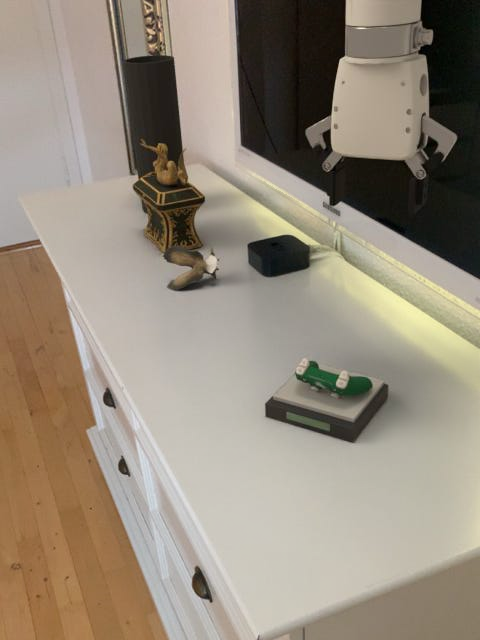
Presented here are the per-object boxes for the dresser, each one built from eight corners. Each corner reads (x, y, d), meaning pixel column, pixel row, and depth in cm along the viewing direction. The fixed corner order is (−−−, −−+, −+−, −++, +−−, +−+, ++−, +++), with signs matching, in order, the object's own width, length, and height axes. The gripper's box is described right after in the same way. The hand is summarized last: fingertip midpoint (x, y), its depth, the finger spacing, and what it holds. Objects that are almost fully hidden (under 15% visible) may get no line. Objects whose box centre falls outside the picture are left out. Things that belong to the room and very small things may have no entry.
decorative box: (136, 232, 146) (122, 132, 134) (180, 224, 149) (170, 125, 137) (169, 265, 131) (157, 155, 119) (217, 254, 134) (209, 146, 122)
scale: (387, 397, 91) (389, 380, 89) (352, 442, 83) (353, 425, 82) (304, 375, 96) (305, 359, 95) (265, 416, 89) (264, 399, 87)
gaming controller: (302, 389, 92) (283, 376, 87) (313, 362, 92) (295, 348, 87) (364, 410, 87) (349, 398, 82) (376, 382, 87) (361, 368, 82)
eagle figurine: (207, 261, 128) (159, 261, 125) (217, 236, 122) (167, 235, 119) (215, 296, 125) (166, 297, 122) (226, 272, 119) (175, 272, 116)
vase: (186, 214, 153) (171, 61, 136) (140, 216, 154) (119, 64, 136) (189, 199, 162) (175, 54, 144) (145, 201, 162) (127, 56, 145)
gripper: (475, 37, 72) (457, 204, 81) (320, 38, 79) (321, 190, 89) (454, 48, 66) (437, 225, 76) (290, 48, 74) (295, 209, 84)
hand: (374, 206), depth 83 cm, fingers open, 9 cm apart
